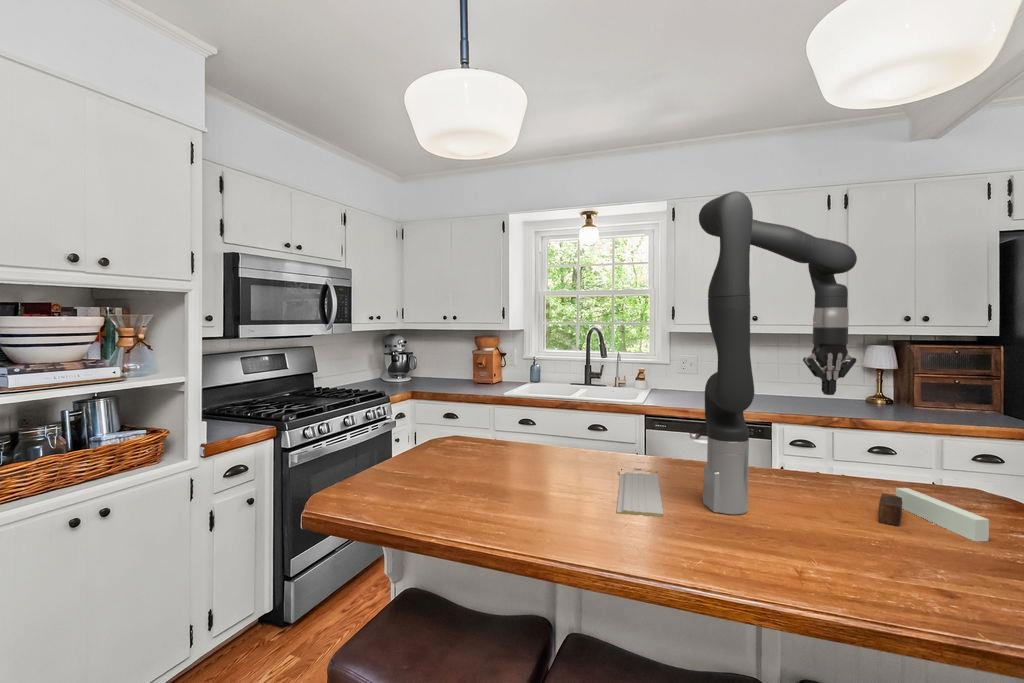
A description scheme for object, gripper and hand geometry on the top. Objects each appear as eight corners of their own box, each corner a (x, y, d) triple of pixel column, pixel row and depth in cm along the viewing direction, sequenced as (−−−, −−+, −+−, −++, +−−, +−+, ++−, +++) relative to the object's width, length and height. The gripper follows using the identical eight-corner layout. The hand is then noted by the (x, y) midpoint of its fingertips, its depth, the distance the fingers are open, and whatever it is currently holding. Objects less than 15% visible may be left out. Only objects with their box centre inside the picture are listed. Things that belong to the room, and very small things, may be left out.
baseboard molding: (610, 515, 119) (663, 520, 116) (610, 503, 119) (663, 508, 116) (615, 476, 149) (657, 479, 146) (615, 466, 149) (657, 469, 146)
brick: (900, 528, 110) (900, 507, 110) (877, 523, 113) (878, 502, 113) (902, 514, 118) (902, 494, 118) (881, 510, 121) (881, 491, 121)
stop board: (974, 541, 103) (975, 519, 103) (895, 506, 123) (895, 488, 123) (988, 541, 103) (989, 519, 103) (906, 505, 123) (907, 487, 123)
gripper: (814, 326, 121) (813, 397, 122) (866, 326, 122) (865, 396, 123) (795, 326, 129) (794, 392, 130) (844, 325, 130) (843, 392, 130)
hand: (828, 394), depth 126 cm, fingers closed
